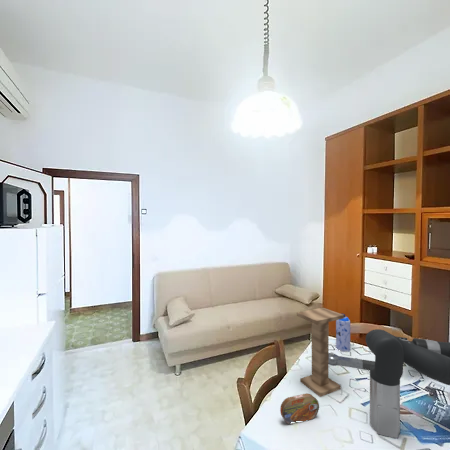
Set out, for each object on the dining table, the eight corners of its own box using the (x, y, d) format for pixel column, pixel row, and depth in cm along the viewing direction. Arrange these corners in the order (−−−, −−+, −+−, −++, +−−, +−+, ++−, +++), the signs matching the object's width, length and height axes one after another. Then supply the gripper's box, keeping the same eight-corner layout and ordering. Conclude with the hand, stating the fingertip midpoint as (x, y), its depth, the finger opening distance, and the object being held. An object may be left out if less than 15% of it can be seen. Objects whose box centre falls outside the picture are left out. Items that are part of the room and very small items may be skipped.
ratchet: (376, 366, 136) (376, 356, 136) (379, 372, 130) (379, 362, 130) (325, 358, 144) (325, 349, 144) (326, 364, 138) (326, 354, 138)
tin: (283, 426, 96) (283, 403, 96) (279, 420, 99) (279, 397, 99) (319, 418, 100) (319, 395, 100) (314, 412, 103) (314, 390, 103)
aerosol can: (332, 346, 158) (332, 312, 158) (345, 345, 159) (345, 311, 159) (340, 352, 150) (340, 316, 150) (353, 351, 152) (353, 315, 152)
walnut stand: (322, 374, 129) (322, 307, 129) (343, 387, 118) (343, 315, 118) (296, 383, 122) (296, 312, 122) (316, 398, 111) (316, 321, 111)
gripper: (432, 363, 120) (390, 357, 125) (420, 349, 134) (383, 344, 139) (432, 346, 120) (390, 341, 125) (420, 334, 134) (383, 330, 139)
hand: (386, 343), depth 132 cm, fingers open, 8 cm apart
